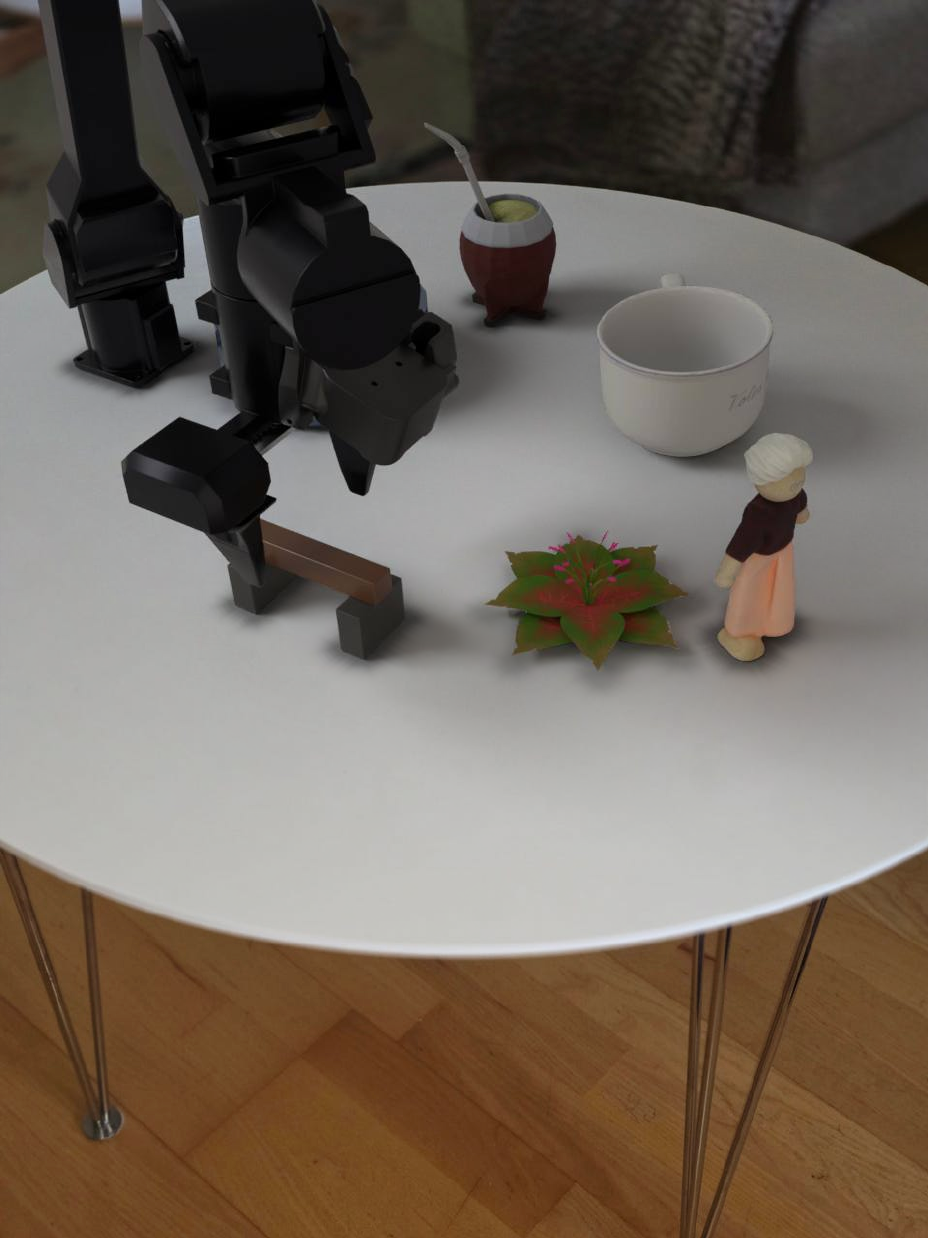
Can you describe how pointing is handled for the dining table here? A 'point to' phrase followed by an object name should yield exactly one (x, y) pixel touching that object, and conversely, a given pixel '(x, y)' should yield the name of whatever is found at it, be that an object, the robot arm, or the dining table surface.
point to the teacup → (684, 366)
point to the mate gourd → (505, 248)
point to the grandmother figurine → (765, 547)
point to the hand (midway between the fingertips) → (309, 536)
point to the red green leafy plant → (588, 597)
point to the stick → (325, 564)
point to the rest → (355, 618)
